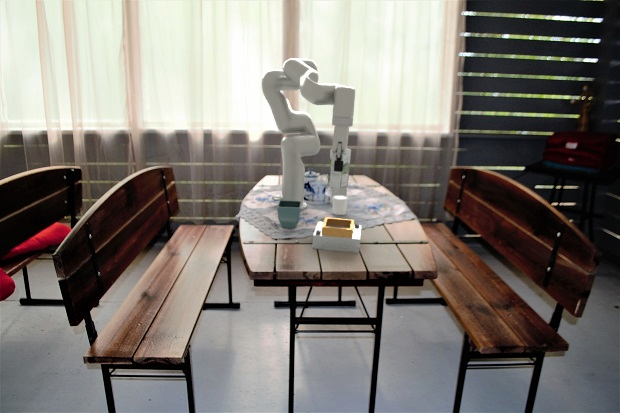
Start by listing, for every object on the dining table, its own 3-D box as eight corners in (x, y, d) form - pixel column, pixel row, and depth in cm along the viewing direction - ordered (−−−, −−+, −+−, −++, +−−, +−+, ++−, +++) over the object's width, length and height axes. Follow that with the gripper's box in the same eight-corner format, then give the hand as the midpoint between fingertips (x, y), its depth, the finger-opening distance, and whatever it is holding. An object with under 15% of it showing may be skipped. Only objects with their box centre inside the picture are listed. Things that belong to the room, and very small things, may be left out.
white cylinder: (350, 213, 193) (351, 197, 191) (340, 216, 188) (341, 200, 186) (338, 209, 197) (339, 193, 195) (328, 212, 193) (329, 196, 190)
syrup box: (335, 183, 175) (338, 146, 170) (348, 186, 171) (351, 148, 167) (327, 186, 170) (329, 148, 166) (340, 189, 167) (343, 150, 162)
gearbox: (312, 248, 155) (313, 228, 152) (317, 233, 168) (318, 214, 166) (358, 253, 153) (360, 232, 151) (360, 238, 166) (362, 218, 164)
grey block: (345, 203, 206) (347, 182, 203) (331, 203, 205) (332, 182, 202) (344, 201, 209) (345, 180, 206) (329, 201, 208) (331, 180, 205)
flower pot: (278, 221, 179) (279, 199, 177) (300, 222, 179) (301, 200, 176) (276, 229, 171) (276, 206, 168) (299, 230, 171) (300, 207, 168)
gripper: (334, 117, 172) (331, 163, 177) (329, 123, 155) (326, 173, 161) (354, 119, 171) (350, 164, 176) (351, 125, 154) (347, 175, 160)
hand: (339, 168), depth 169 cm, fingers closed on syrup box, 7 cm apart
